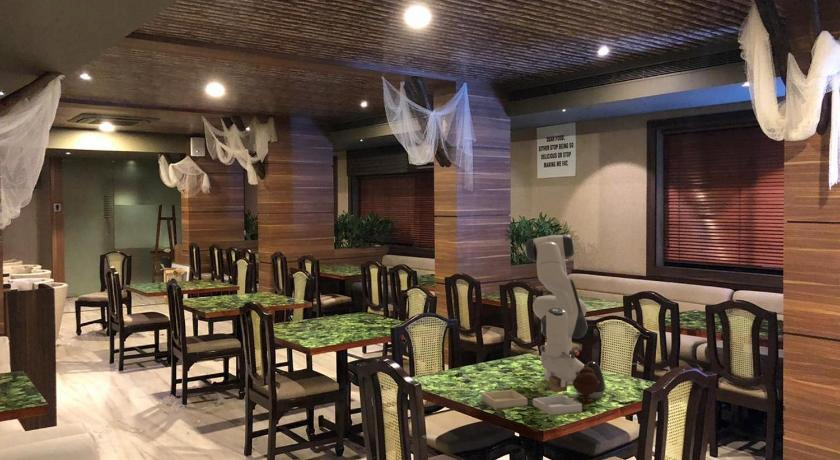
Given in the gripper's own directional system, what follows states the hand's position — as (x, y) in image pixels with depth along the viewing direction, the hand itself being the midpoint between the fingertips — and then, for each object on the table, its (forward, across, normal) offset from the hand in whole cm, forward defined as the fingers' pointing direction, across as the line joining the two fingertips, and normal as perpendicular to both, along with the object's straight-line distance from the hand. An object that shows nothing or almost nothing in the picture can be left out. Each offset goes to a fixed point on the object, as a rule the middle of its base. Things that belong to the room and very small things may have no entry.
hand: (558, 384), depth 270 cm
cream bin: (+10, +15, +17) cm, 24 cm away
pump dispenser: (+11, +10, -22) cm, 27 cm away
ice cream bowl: (+11, +3, -14) cm, 18 cm away
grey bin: (+10, 0, +1) cm, 10 cm away
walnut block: (+2, 0, 0) cm, 2 cm away
